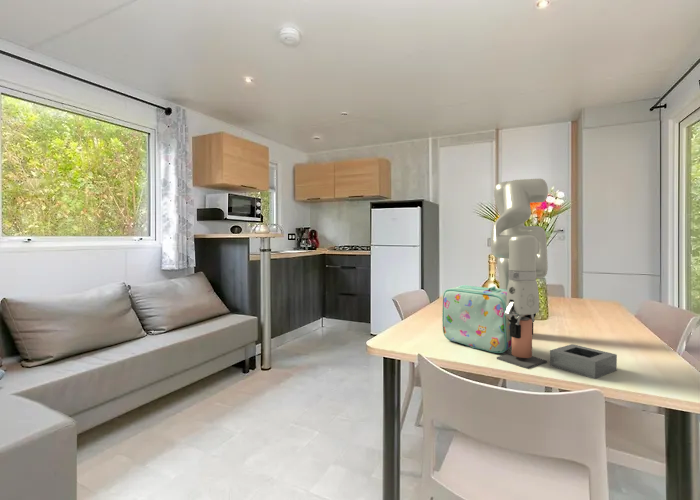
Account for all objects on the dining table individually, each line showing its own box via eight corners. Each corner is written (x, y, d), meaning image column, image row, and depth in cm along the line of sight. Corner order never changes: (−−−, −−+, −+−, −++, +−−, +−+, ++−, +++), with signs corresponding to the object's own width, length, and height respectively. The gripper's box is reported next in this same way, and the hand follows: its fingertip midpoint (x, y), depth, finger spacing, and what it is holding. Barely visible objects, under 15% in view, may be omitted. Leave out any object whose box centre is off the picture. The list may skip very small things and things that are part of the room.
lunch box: (525, 352, 118) (525, 287, 118) (508, 359, 112) (509, 290, 112) (456, 335, 139) (456, 280, 139) (439, 340, 133) (439, 282, 133)
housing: (549, 365, 106) (550, 350, 106) (572, 358, 112) (572, 344, 112) (594, 378, 95) (595, 361, 95) (616, 370, 102) (616, 354, 102)
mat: (496, 358, 112) (496, 357, 112) (516, 353, 117) (516, 351, 117) (527, 368, 103) (527, 366, 103) (547, 362, 108) (547, 360, 108)
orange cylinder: (507, 354, 111) (507, 316, 111) (518, 351, 114) (519, 314, 114) (524, 359, 106) (524, 320, 106) (535, 356, 109) (536, 318, 109)
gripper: (515, 279, 102) (515, 343, 102) (550, 276, 111) (549, 334, 111) (493, 277, 108) (492, 337, 109) (527, 274, 117) (527, 329, 118)
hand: (521, 335), depth 110 cm, fingers closed on orange cylinder, 5 cm apart
